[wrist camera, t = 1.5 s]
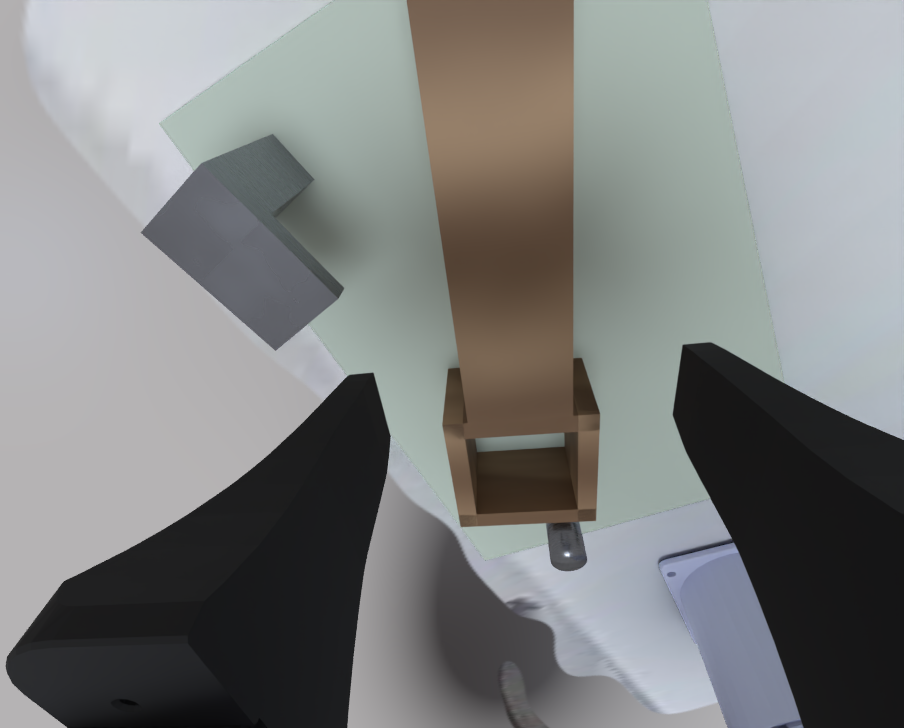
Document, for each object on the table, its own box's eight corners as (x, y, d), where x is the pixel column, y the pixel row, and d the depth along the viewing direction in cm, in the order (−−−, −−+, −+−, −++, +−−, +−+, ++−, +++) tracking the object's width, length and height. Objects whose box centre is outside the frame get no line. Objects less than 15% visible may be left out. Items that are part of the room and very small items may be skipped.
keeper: (370, 241, 19) (338, 298, 15) (320, 285, 21) (275, 350, 16) (272, 133, 17) (201, 162, 13) (222, 188, 19) (140, 232, 14)
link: (580, 457, 25) (596, 521, 22) (463, 464, 26) (460, 527, 22) (587, -47, 14) (619, -76, 11) (386, -13, 15) (359, -30, 12)
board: (797, 466, 25) (802, 473, 25) (484, 553, 30) (485, 560, 30) (655, -221, 13) (660, -231, 12) (166, 121, 18) (158, 123, 17)
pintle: (575, 487, 26) (592, 565, 22) (546, 496, 27) (558, 574, 23) (564, 467, 25) (579, 545, 21) (535, 477, 26) (545, 554, 22)
